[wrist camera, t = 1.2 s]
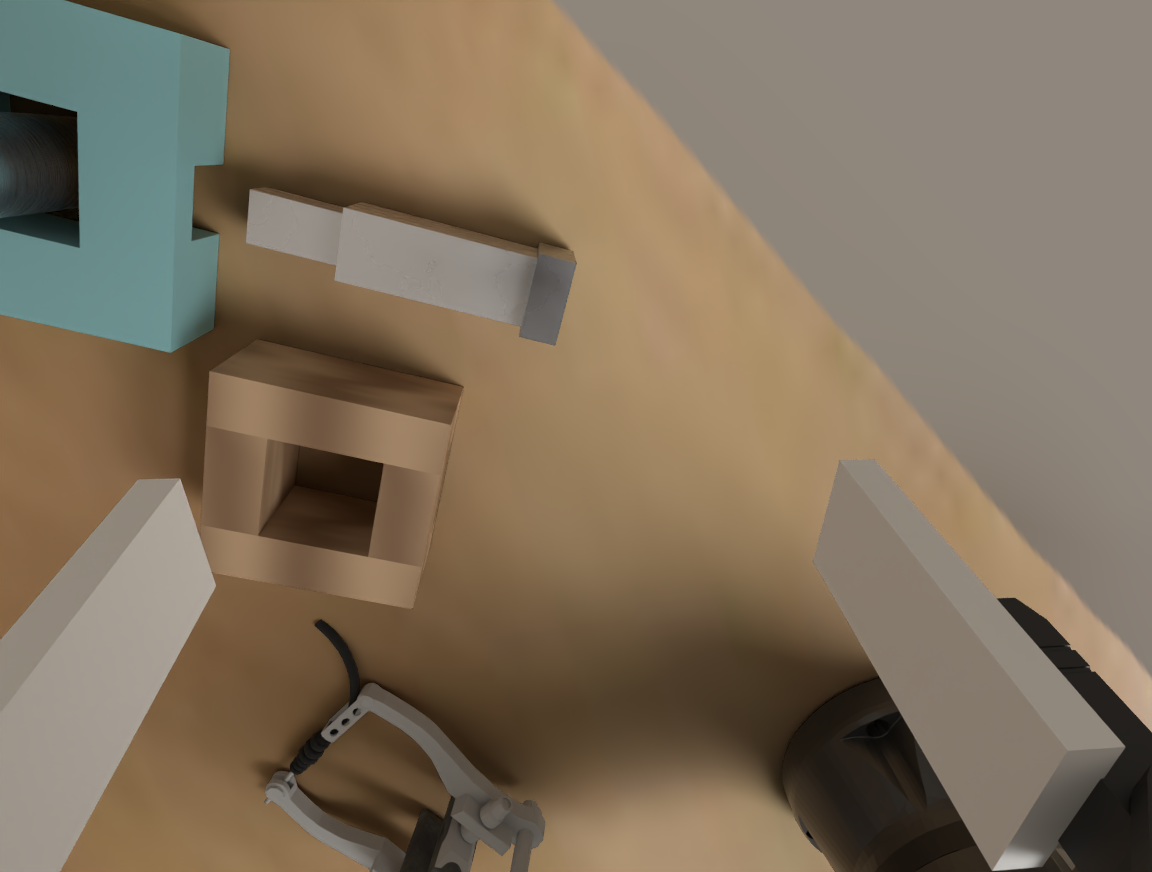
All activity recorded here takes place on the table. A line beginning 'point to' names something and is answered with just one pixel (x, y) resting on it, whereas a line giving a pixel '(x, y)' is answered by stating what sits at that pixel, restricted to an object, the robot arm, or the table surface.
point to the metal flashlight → (38, 163)
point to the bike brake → (436, 846)
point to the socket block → (116, 175)
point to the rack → (312, 517)
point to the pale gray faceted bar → (420, 259)
